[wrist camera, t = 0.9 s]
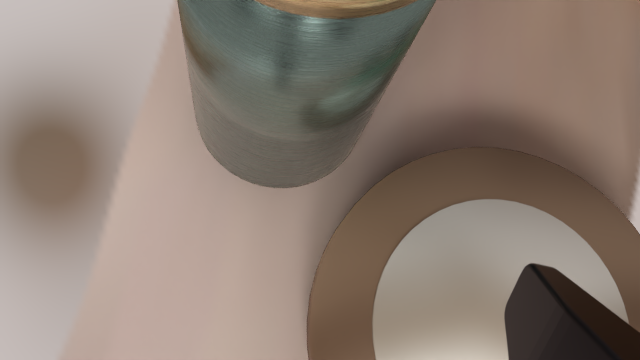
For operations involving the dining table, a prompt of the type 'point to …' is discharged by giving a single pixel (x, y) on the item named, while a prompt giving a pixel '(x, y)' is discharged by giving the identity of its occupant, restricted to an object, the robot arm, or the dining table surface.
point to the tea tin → (291, 79)
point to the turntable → (463, 256)
